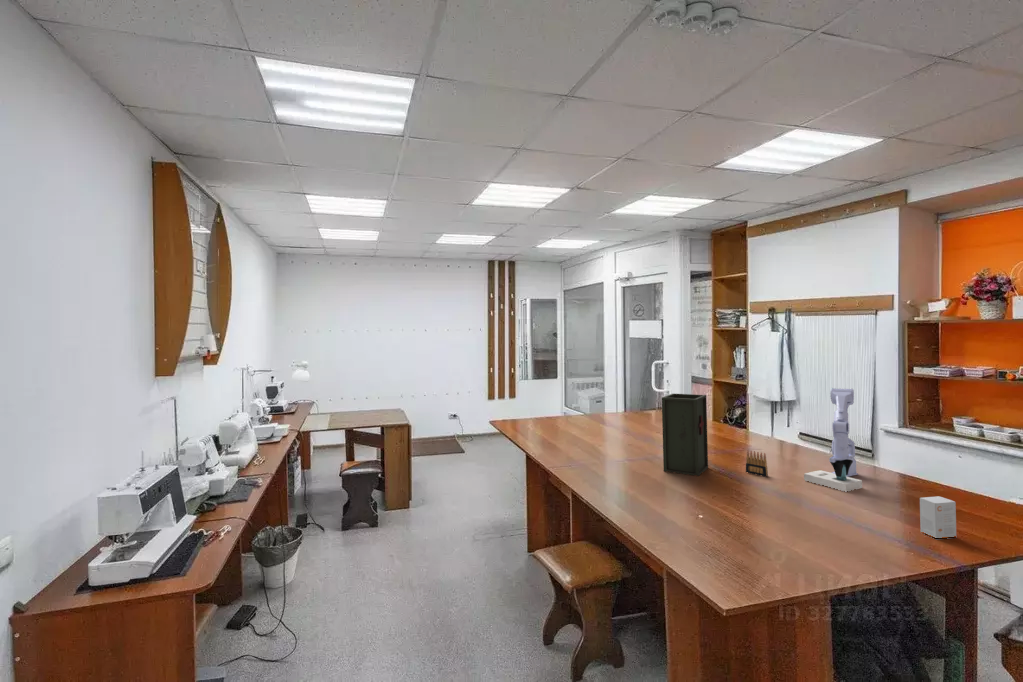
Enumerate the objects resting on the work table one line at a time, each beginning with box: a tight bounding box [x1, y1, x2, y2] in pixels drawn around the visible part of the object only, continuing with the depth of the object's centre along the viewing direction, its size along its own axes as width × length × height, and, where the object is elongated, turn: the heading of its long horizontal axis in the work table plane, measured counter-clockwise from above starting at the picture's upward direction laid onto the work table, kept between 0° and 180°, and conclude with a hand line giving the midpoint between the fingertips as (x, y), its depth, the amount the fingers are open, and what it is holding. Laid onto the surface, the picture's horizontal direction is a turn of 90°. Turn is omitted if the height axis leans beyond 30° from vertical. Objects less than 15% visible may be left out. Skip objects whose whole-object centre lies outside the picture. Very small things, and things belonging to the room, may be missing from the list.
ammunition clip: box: [745, 449, 769, 477], centre depth 258 cm, size 11×2×12 cm, turn 37°
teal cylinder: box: [836, 464, 847, 481], centre depth 234 cm, size 4×4×7 cm
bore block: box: [803, 469, 863, 493], centre depth 238 cm, size 12×20×4 cm, turn 24°
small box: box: [919, 495, 957, 538], centre depth 178 cm, size 8×6×13 cm
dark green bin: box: [661, 393, 709, 477], centre depth 270 cm, size 18×18×40 cm
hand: (841, 475), depth 234 cm, fingers closed on teal cylinder, 4 cm apart
